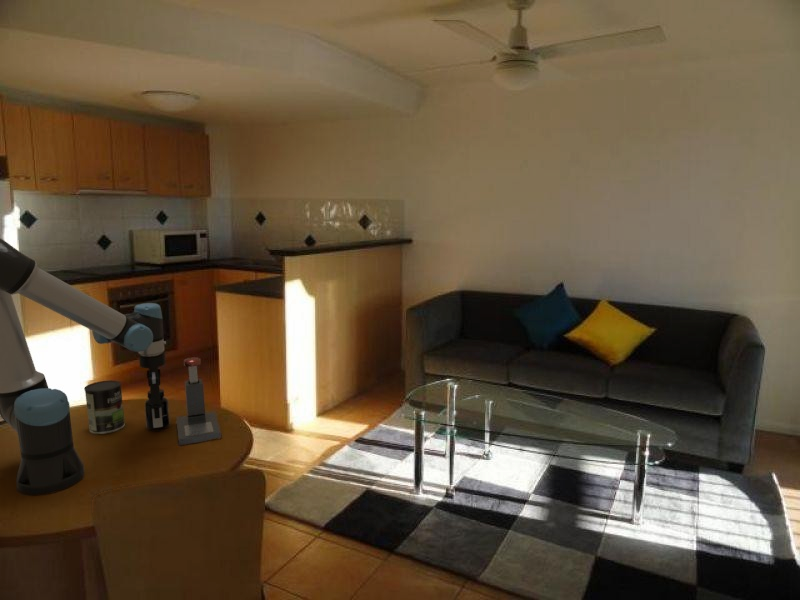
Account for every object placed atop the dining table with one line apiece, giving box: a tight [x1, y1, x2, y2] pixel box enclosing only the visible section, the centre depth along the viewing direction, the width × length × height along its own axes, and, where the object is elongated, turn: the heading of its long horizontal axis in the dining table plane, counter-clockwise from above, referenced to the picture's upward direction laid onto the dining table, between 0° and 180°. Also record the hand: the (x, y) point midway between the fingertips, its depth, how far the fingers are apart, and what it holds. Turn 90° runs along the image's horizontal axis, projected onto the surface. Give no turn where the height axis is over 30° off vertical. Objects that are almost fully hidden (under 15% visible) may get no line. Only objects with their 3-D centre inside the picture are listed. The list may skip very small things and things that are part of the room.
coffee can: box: [84, 379, 126, 435], centre depth 182 cm, size 10×10×14 cm
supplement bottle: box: [144, 388, 170, 432], centre depth 182 cm, size 7×7×12 cm
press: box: [175, 378, 222, 446], centre depth 179 cm, size 18×12×14 cm, turn 23°
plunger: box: [183, 356, 202, 384], centre depth 183 cm, size 5×5×12 cm
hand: (158, 422), depth 183 cm, fingers closed on supplement bottle, 7 cm apart
